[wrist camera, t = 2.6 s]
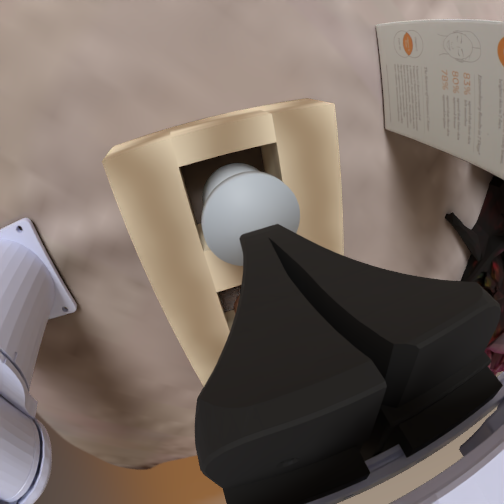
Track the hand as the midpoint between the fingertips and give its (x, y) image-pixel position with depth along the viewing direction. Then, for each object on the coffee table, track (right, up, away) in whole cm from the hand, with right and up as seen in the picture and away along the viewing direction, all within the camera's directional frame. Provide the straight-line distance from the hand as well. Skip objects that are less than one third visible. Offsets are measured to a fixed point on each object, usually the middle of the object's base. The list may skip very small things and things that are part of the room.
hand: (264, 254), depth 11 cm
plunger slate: (-1, +3, +6) cm, 7 cm away
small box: (+11, +13, +8) cm, 19 cm away
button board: (-1, -2, +13) cm, 13 cm away
